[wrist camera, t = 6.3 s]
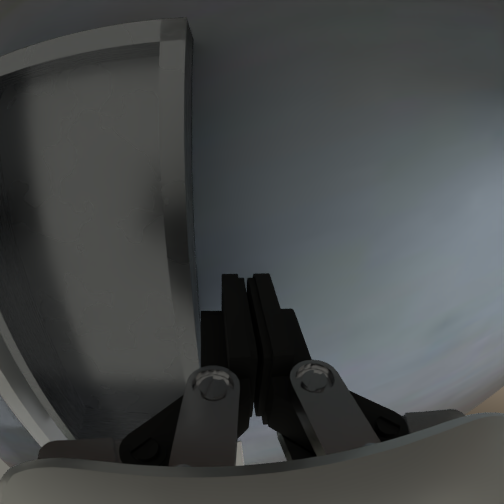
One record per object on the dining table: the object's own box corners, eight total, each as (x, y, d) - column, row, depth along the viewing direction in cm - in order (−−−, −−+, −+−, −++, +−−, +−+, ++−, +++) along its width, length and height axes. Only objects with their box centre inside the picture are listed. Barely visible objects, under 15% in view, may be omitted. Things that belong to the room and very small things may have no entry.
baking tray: (193, 39, 8) (186, 17, 6) (209, 411, 17) (212, 454, 14) (-8, 79, 7) (-57, 83, 5) (82, 406, 16) (72, 445, 13)
